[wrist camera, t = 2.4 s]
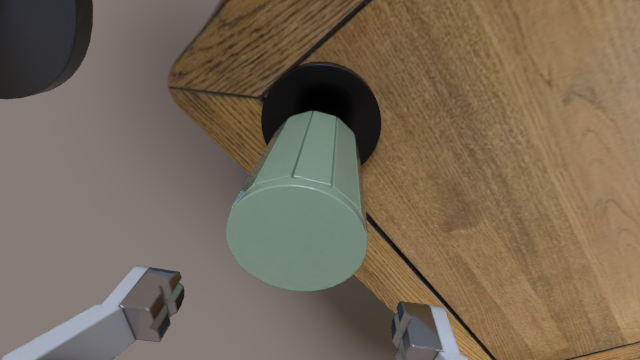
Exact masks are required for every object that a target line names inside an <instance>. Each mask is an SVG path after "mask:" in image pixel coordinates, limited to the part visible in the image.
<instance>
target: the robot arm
mask: <svg viewBox="0 0 640 360" xmlns="http://www.w3.org/2000/svg"><path fill="white" fill-rule="evenodd" d="M180 280H181V275H180V272H177V271H170V270H163V269H157V268H152V267H145V266H136V267H135V268H133V269H132V270H131V271H130V272H129V273H128V275H127V276H126V277H125V278H124V279H123V280H122V281H121V283H120V284H119V285H118V286H117V287H116V288H115V290H114V291H113V292H112V293H111V294H110V295H109V297H108V298H107V299H106V300H105V301H104V302H103V303H102V305H101V304H97V305H95V306H93V307H91V308H89V309H88V310H86V311H84V312H82V313H81V314H79V315H77V316H75V317H73V318H71V319H70V320H68V321H66V322H64V323H62V324H61V325H59V326H57V327H55V328H53V329H51V330H50V331H48V332H46V333H44V334H42V335H41V336H39V337H37V338H35V339H33V340H32V341H30V342H28V343H26V344H24V345H23V346H21V347H19V348H17V349H15V350H13V351H12V352H10V353H8V354H6V355H5V356H4V357H3V358H2V359H1V360H113V359H114V358H115V357H116V356H118V355H119V354H120V353H121V352H123V351H124V350H125V349H126V348H128V347H129V346H130V345H131V344H133V343H134V342H135V341H136V340H145V341H154V342H160V341H161V339H162V338H163V336H164V334H165V333H166V331H167V329H168V327H169V326H170V317H171V316H172V315H174V314H175V313H177V312H178V310H179V308H180V306H181V304H182V301H183V298H184V287H183V285H182V284H181V283H180V282H179V281H180ZM397 311H398V313H396V314H395V315H394V316H393V320H392V326H391V333H392V341H393V343H394V345H395V346H396V347H397V350H396V352H395V360H469V359H468V358H467V357H466V356H465V355H461V354H460V352H459V349H458V346H457V343H456V340H455V337H454V334H453V332H452V329H451V326H450V323H449V320H448V317H447V314H446V311H445V309H444V308H443V307H440V306H432V305H427V304H419V303H411V302H402V301H400V302H399V303H398V306H397ZM135 339H136V340H135Z"/></svg>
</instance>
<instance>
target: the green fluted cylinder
mask: <svg viewBox="0 0 640 360" xmlns="http://www.w3.org/2000/svg"><path fill="white" fill-rule="evenodd" d="M226 239H227V244H228V246H229V249H230V251H231V253H232V255H233V257H234V258H235V260H236V261H237V262H238V263H239V264H240V266H241V267H242V268H243V269H245V270H246V271H247V272H248V273H249V274H251V275H252V276H254V277H255V278H257V279H259V280H260V281H262V282H265V283H267V284H269V285H272V286H274V287H278V288H282V289H286V290H292V291H317V290H323V289H326V288H330V287H333V286H335V285H338V284H340V283H342V282H344V281H345V280H347V279H348V278H350V277H351V276H352V275H353V274H354V273H355V272H356V271H357V270H358V269H359V267H360V266H361V264H362V262H363V260H364V258H365V255H366V251H367V241H368V229H367V220H366V211H365V201H364V192H363V183H362V174H361V165H360V156H359V150H358V146H357V142H356V138H355V135H354V133H353V132H352V131H351V130H350V129H349V128H348V127H347V126H346V125H345V124H344V123H343V122H342V121H341V120H340V119H339V118H337V119H336V116H333V115H329V114H325V113H321V112H317V111H314V112H313V111H309V112H305V113H302V114H298V115H294V116H291V117H290V118H288V119H287V120H286V121H285V122H284V123H283V125H282V126H281V127H280V128H279V129H278V130H277V131H276V132H275V134H274V136H273V137H272V139H271V141H270V142H269V144H268V146H267V147H266V149H265V151H264V153H263V154H262V156H261V158H260V159H259V161H258V163H257V164H256V166H255V168H254V170H253V171H252V173H251V175H250V176H249V178H248V180H247V182H246V183H245V185H244V187H243V188H242V190H241V192H240V193H239V195H238V197H237V199H236V200H235V202H234V204H233V206H232V209H231V213H230V215H229V217H228V220H227V225H226Z"/></svg>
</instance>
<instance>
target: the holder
mask: <svg viewBox="0 0 640 360" xmlns="http://www.w3.org/2000/svg"><path fill="white" fill-rule="evenodd" d="M309 111H313V112H314V111H317V112H321V113H325V114H329V115H333V116H336V119H337V118H339V119H340V120H341V121H342V122H343V123H344V124H345V125H346V126H347V127H348V128H349V129H350V130H351V131H352V132H353V133H354V135H355V138H356V142H357V146H358V150H359V156H360V165H362V164H363V163H364V162H365V161H366V160H367V159H368V158H369V157H370V156H371V154H372V152H373V151H374V149H375V147H376V145H377V143H378V139H379V136H380V131H381V116H380V110H379V106H378V103H377V101H376V98H375V96H374V93H373V92H372V90H371V88H370V87H369V85H368V84H367V83H366V82H365V80H363V79H362V78H361V77H360V76H359V75H358V74H357V73H355V72H354V71H352V70H351V69H349V68H347V67H345V66H342V65H339V64H336V63H331V62H321V61H319V62H310V63H306V64H302V65H300V66H297V67H295V68H293V69H292V70H290V71H288V72H287V73H286V74H285V75H283V76H282V77H281V78H280V79H279V80H278V81H277V82H276V83H275V84H274V86H273V87H272V88H271V90H270V91H269V93H268V95H267V97H266V99H265V102H264V105H263V109H262V117H261V123H262V131H263V136H264V138H265V141H266V144H267V146H268V144H269V142H270V141H271V139H272V137H273V136H274V134H275V132H276V131H277V130H278V129H279V128H280V127H281V126H282V125H283V123H284V122H285V121H286V120H287V119H288V118H290V117H291V116H294V115H298V114H302V113H305V112H309Z"/></svg>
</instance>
